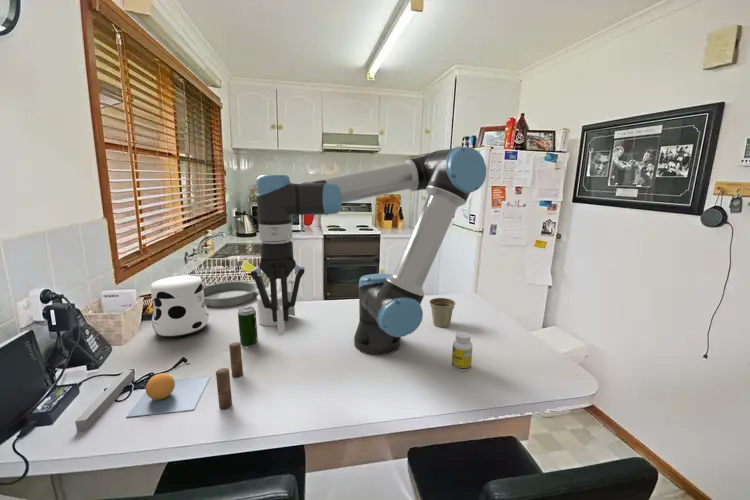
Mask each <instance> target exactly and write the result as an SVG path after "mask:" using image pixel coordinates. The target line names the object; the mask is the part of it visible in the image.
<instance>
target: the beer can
mask: <svg viewBox="0 0 750 500" xmlns="http://www.w3.org/2000/svg"><path fill="white" fill-rule="evenodd" d="M237 310H238V311H237V318H238V319H237V321H238V332H239V343H240V344H241V347H242V348H245V347H249V348H252V346H253V347H255V346H256V345H257V344H258V343H259V337H258V324H257V311H256V308H255V307H254V306H251V305H250V306H247V305H246V306H242V307H240V308H239V309H237Z"/></svg>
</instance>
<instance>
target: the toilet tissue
mask: <svg viewBox="0 0 750 500" xmlns="http://www.w3.org/2000/svg"><path fill="white" fill-rule="evenodd" d="M292 292H293V291H291V292H290V291H288V301H290V300H291V297H292ZM267 294H268V297H269V300H270V302H271V290H270V291H267ZM277 301H278V307H283V305H282V290H277ZM256 305H257V320H258V324H260V325H262V326H265V327H273V326H278V324H277V322H273V316H272V310H271V309H270V308H264V305H263V302H262V299H261V296H260V293H258V294H257V295H256ZM288 310H289V316H293V317H296V314H295V313H296V311H295V310H296V309H295V306H293V307H290V308H289V309H288ZM286 322H287V321H285V323H286Z"/></svg>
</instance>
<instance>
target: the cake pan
mask: <svg viewBox="0 0 750 500" xmlns="http://www.w3.org/2000/svg"><path fill="white" fill-rule="evenodd" d="M257 289H258V288H257V285H256V283H255V284H254V283H253V282H247V281H225V282H219V283H214V284H211V285H206V286H203V292H204V301H205V304H206V307H217V308H218V307H230V306H235V305H238V304H243V303H246V302H248V301H250V300H251V299H253V298H254V294H255V291H257ZM233 291H238V292H239V291H240V292H247V293H244V294H241V295H236V296H228V297H219V296H220V295H221V294H222V293H225V292H233Z"/></svg>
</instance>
